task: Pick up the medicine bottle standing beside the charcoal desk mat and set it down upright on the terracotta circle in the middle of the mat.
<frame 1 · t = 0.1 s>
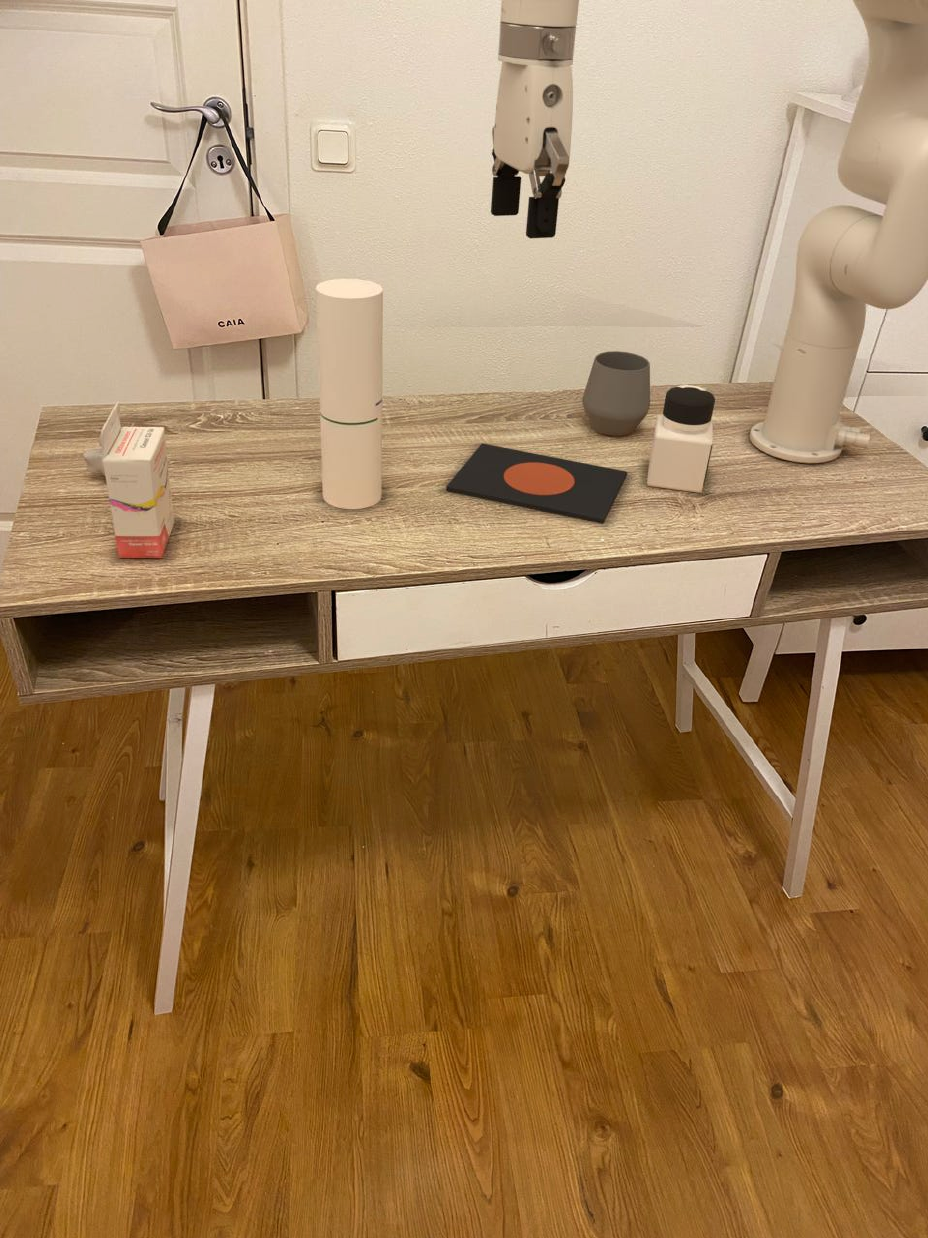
hand: (521, 225, 109), 31 cm above the table, tool pointing down, fingers open, 9 cm apart
cup: (612, 429, 142), on the table
cylindrical container: (352, 496, 122), on the table
mat: (538, 483, 127), on the table
ink cartridge box: (148, 541, 111), on the table
rubber duck: (116, 479, 122), on the table
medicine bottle: (674, 479, 130), on the table
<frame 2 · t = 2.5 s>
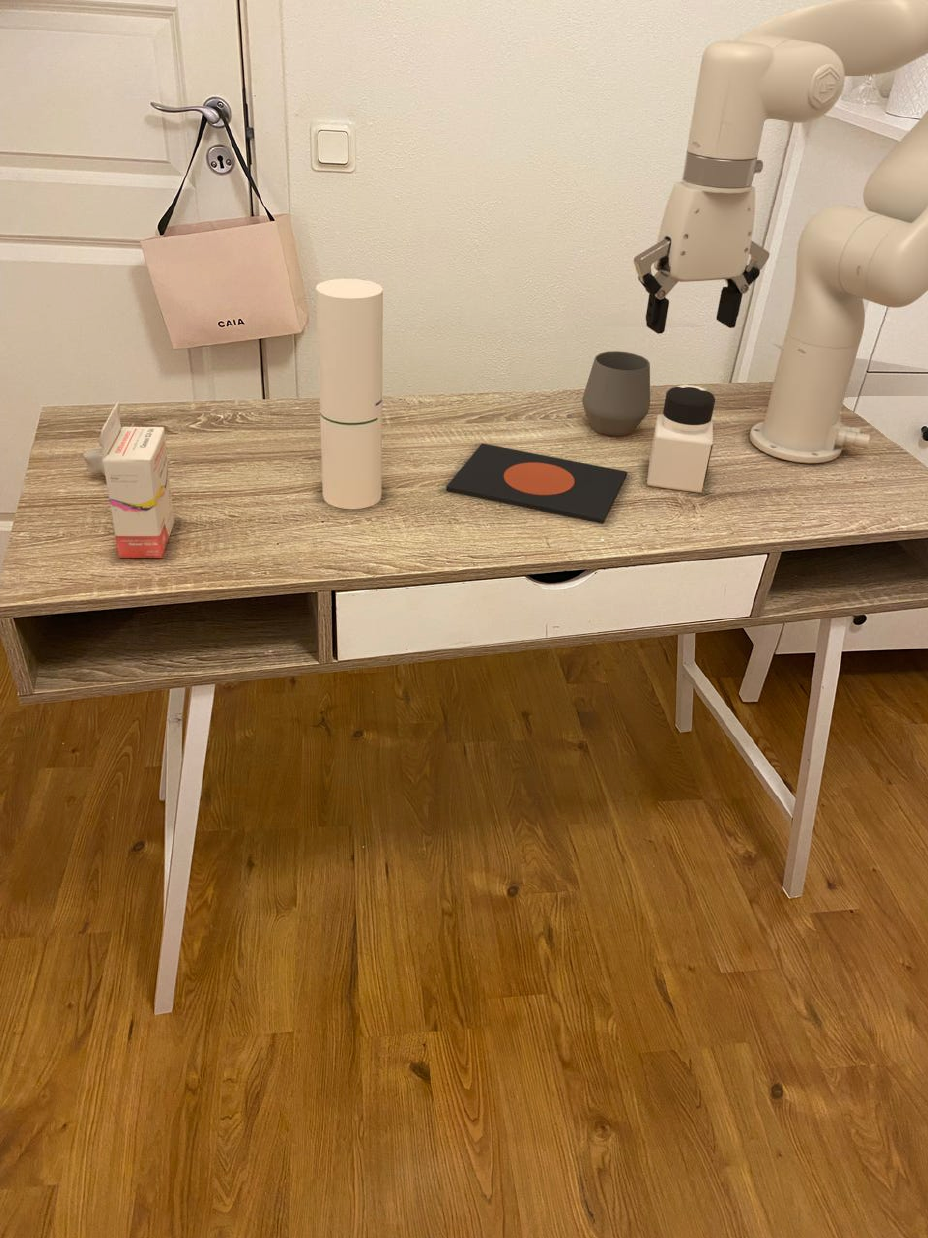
hand: (690, 326, 119), 20 cm above the table, tool pointing down, fingers open, 9 cm apart
nothing on the table moved.
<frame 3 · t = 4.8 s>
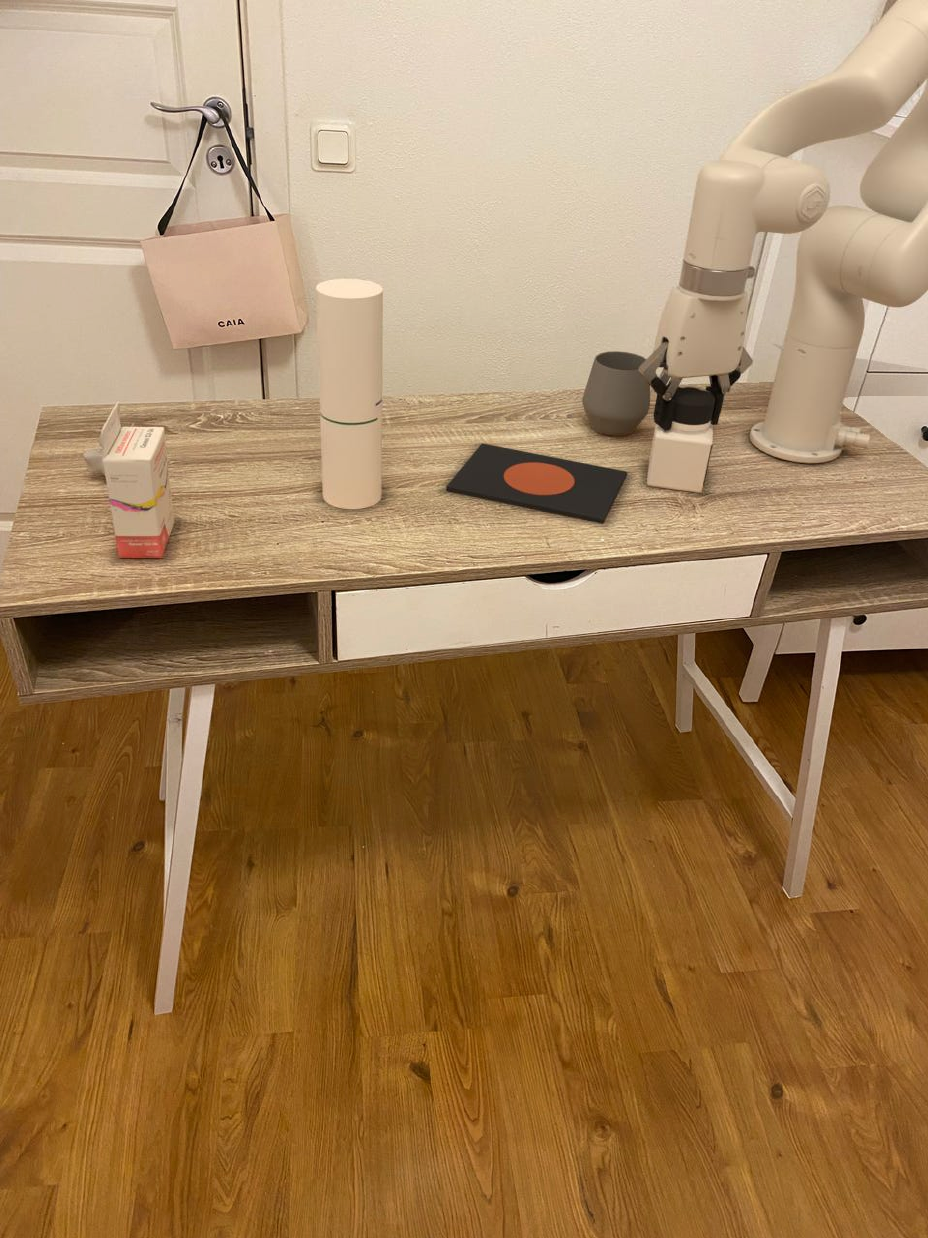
hand: (685, 422, 126), 8 cm above the table, tool pointing down, fingers closed on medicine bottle, 6 cm apart
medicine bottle: (674, 479, 130), on the table, touching gripper
everything else where it was.
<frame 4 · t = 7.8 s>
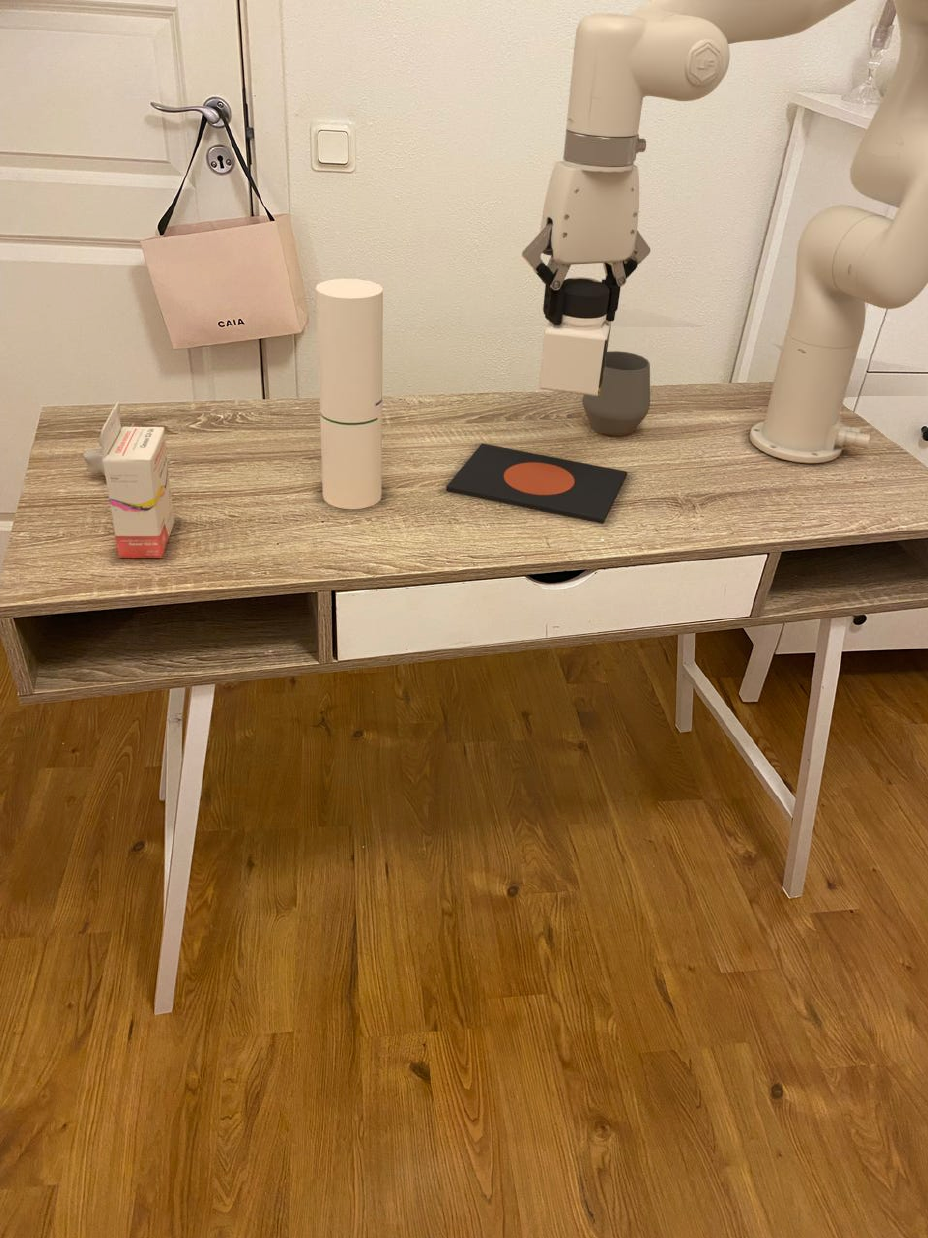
hand: (579, 318, 115), 21 cm above the table, tool pointing down, fingers closed on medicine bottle, 6 cm apart
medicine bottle: (571, 384, 120), point 13 cm above the table, touching gripper
everything else where it was.
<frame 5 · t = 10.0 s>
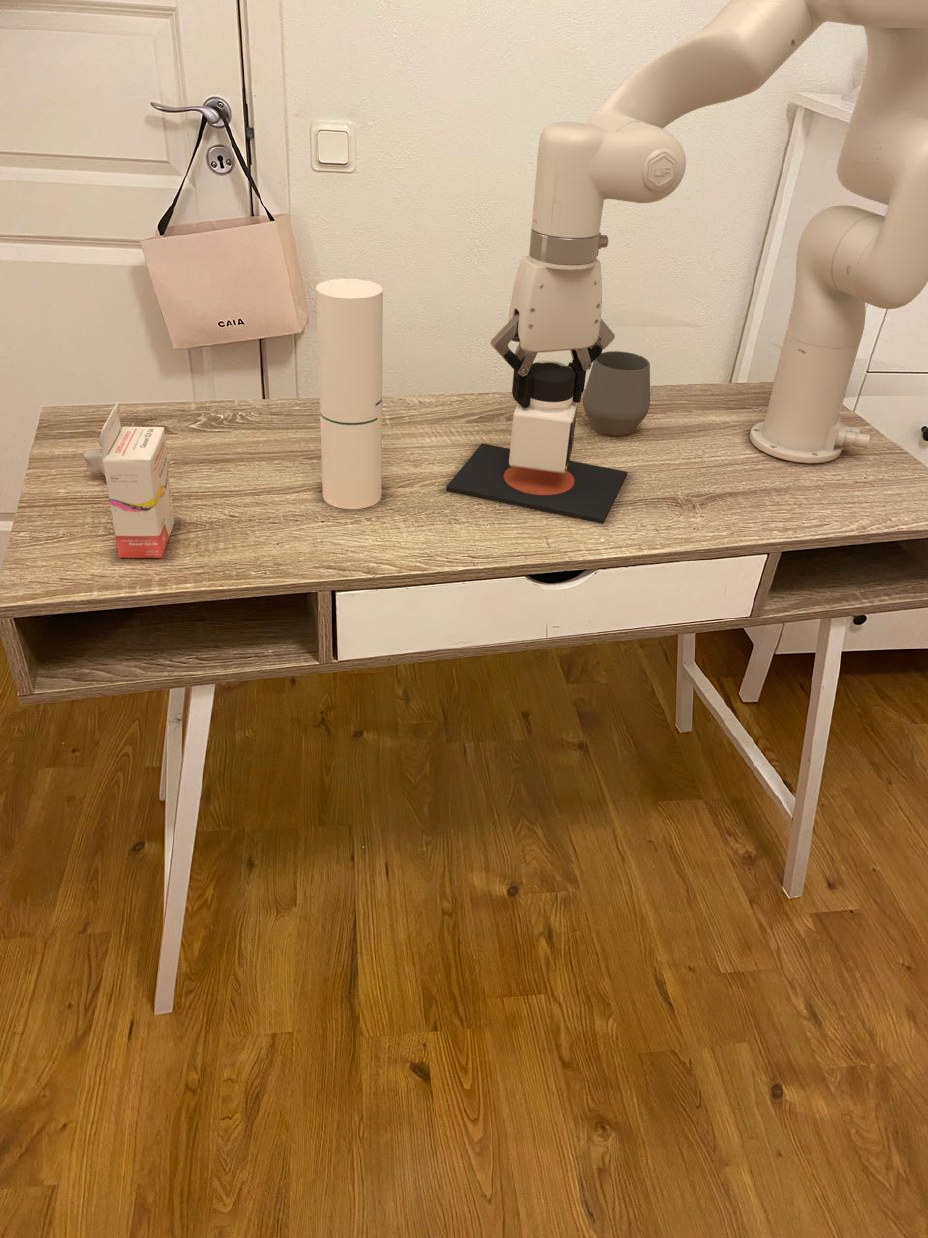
hand: (547, 399, 121), 11 cm above the table, tool pointing down, fingers closed on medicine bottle, 6 cm apart
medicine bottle: (540, 460, 125), point 3 cm above the table, touching gripper
everything else where it was.
when the fingers open (9 cm above the table, at t = 11.2 s): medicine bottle stays where it is, resting on mat.
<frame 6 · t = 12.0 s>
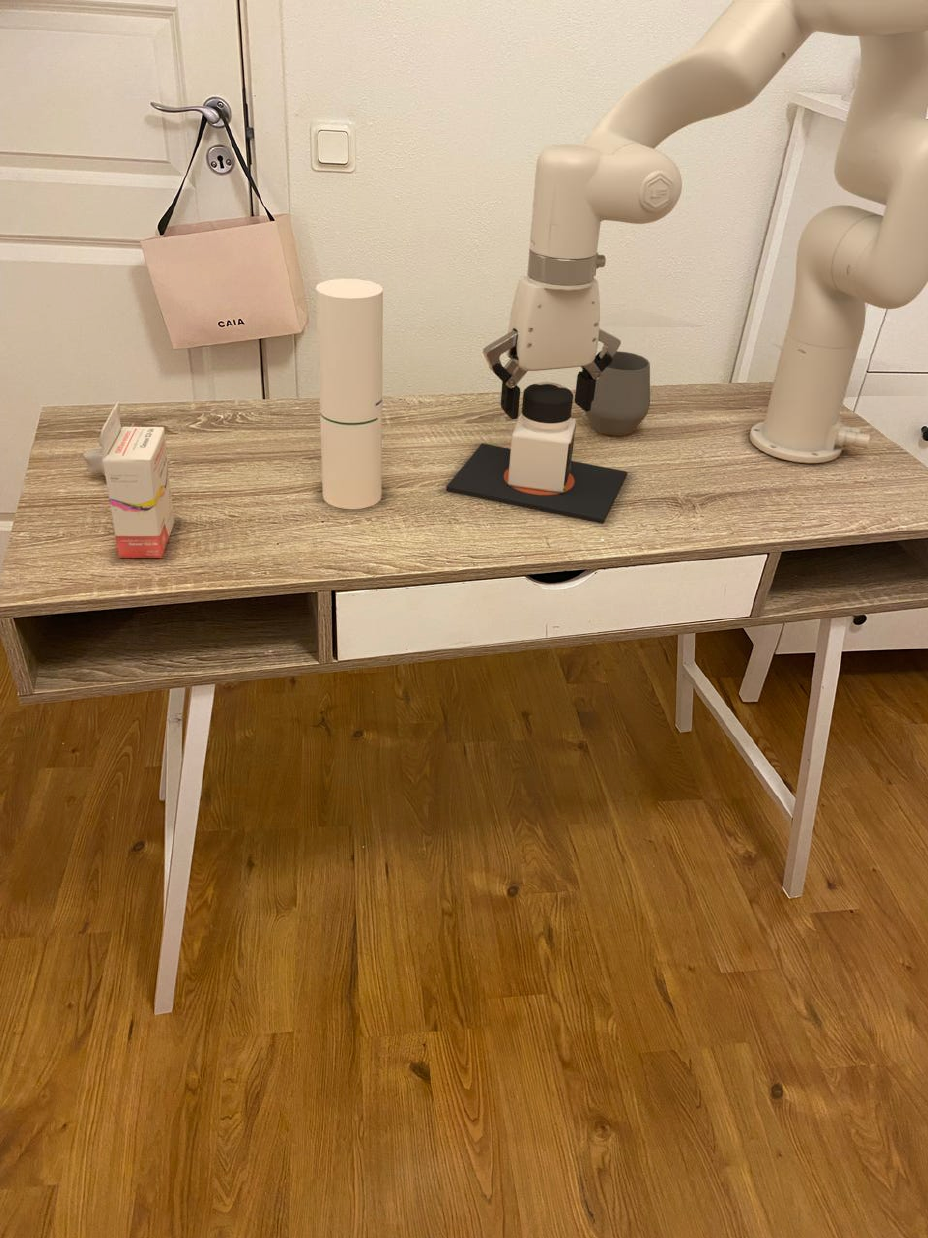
hand: (546, 410, 121), 10 cm above the table, tool pointing down, fingers open, 9 cm apart
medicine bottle: (539, 479, 127), point 1 cm above the table, touching mat
everything else where it was.
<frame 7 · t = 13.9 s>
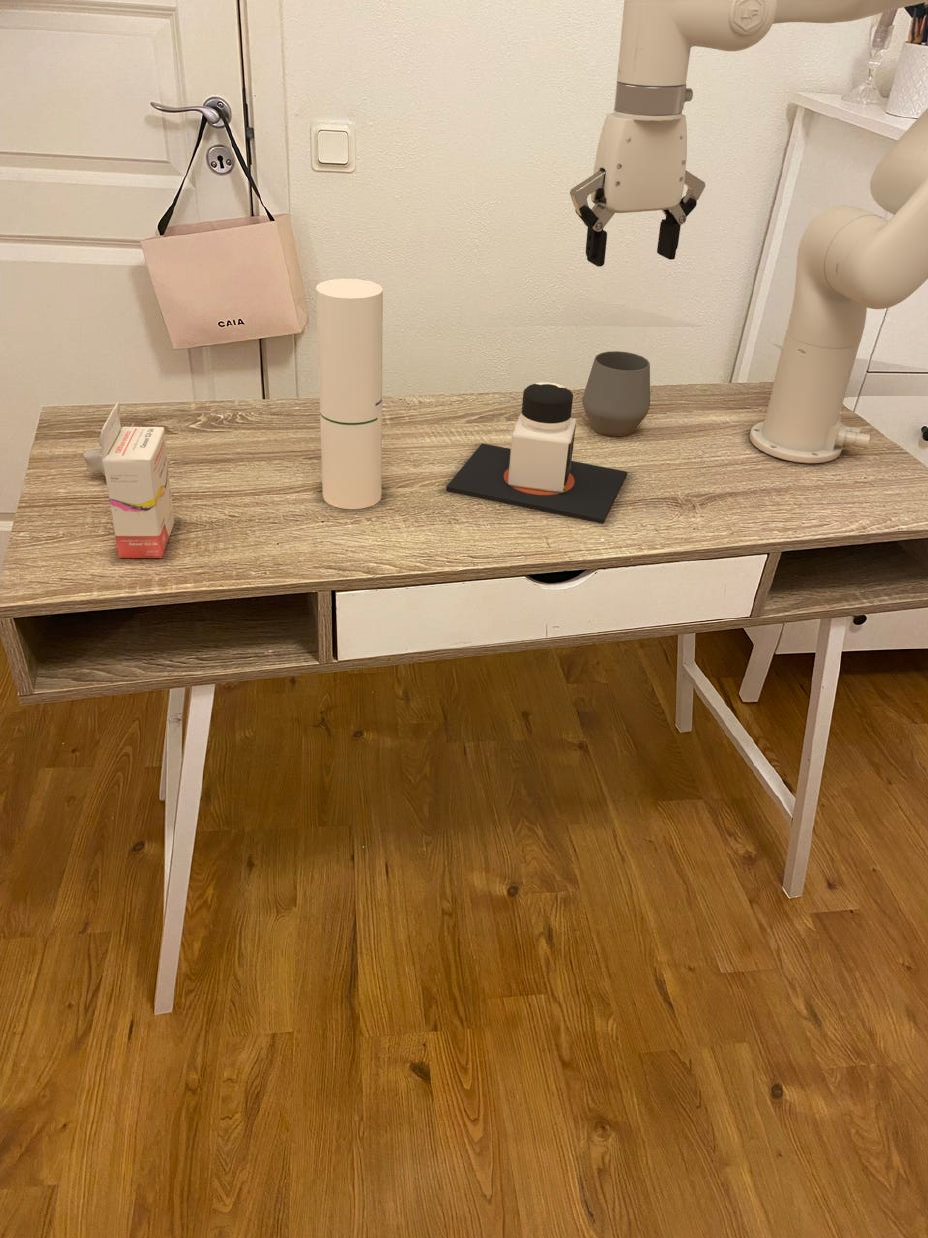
hand: (630, 259, 120), 26 cm above the table, tool pointing down, fingers open, 9 cm apart
nothing on the table moved.
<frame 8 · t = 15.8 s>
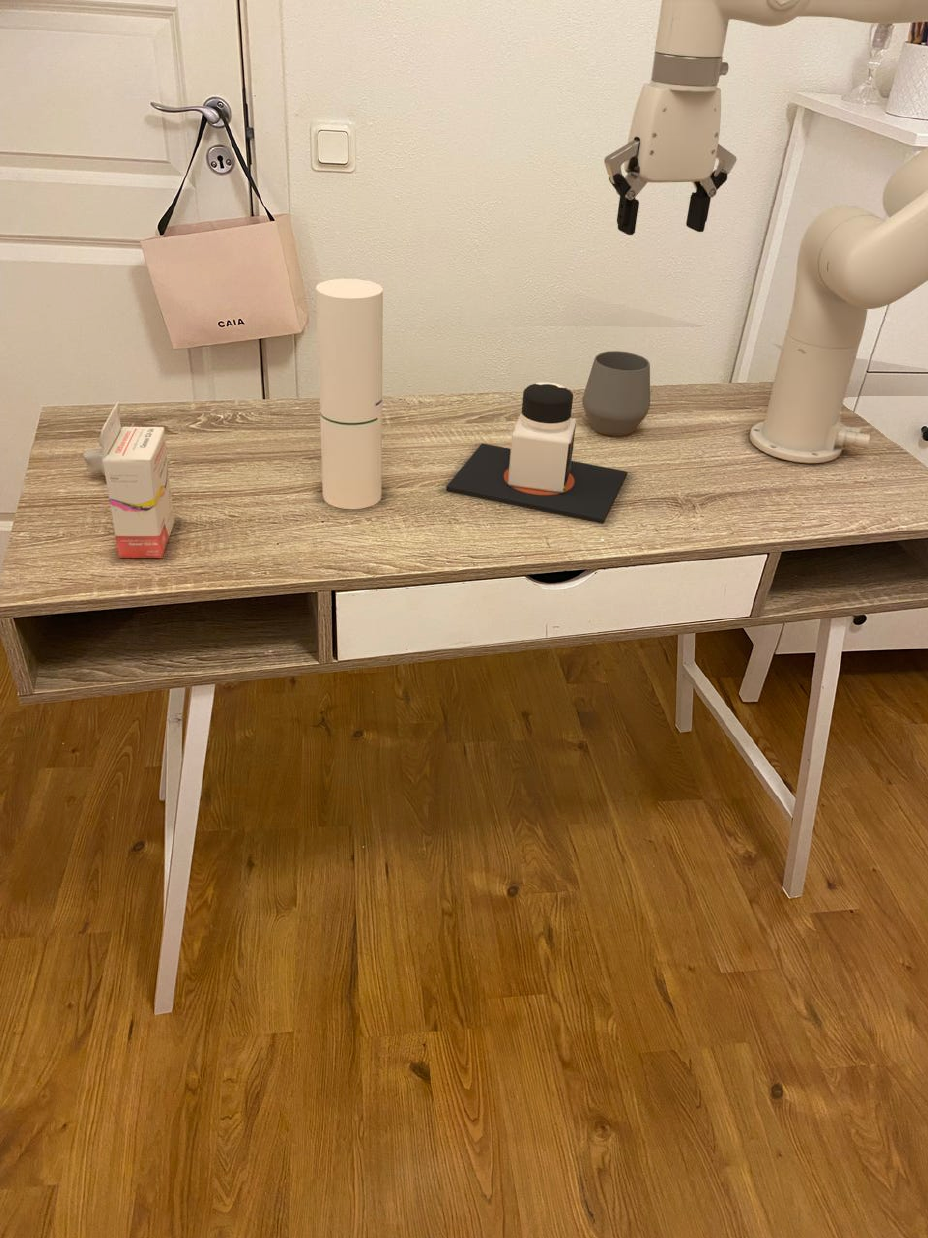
hand: (660, 230, 122), 28 cm above the table, tool pointing down, fingers open, 9 cm apart
nothing on the table moved.
at the end: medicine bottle 0.0 cm off-centre on the mat, point 0.5 cm above the mat's base; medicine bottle tilted 0°; the gripper is holding nothing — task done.
